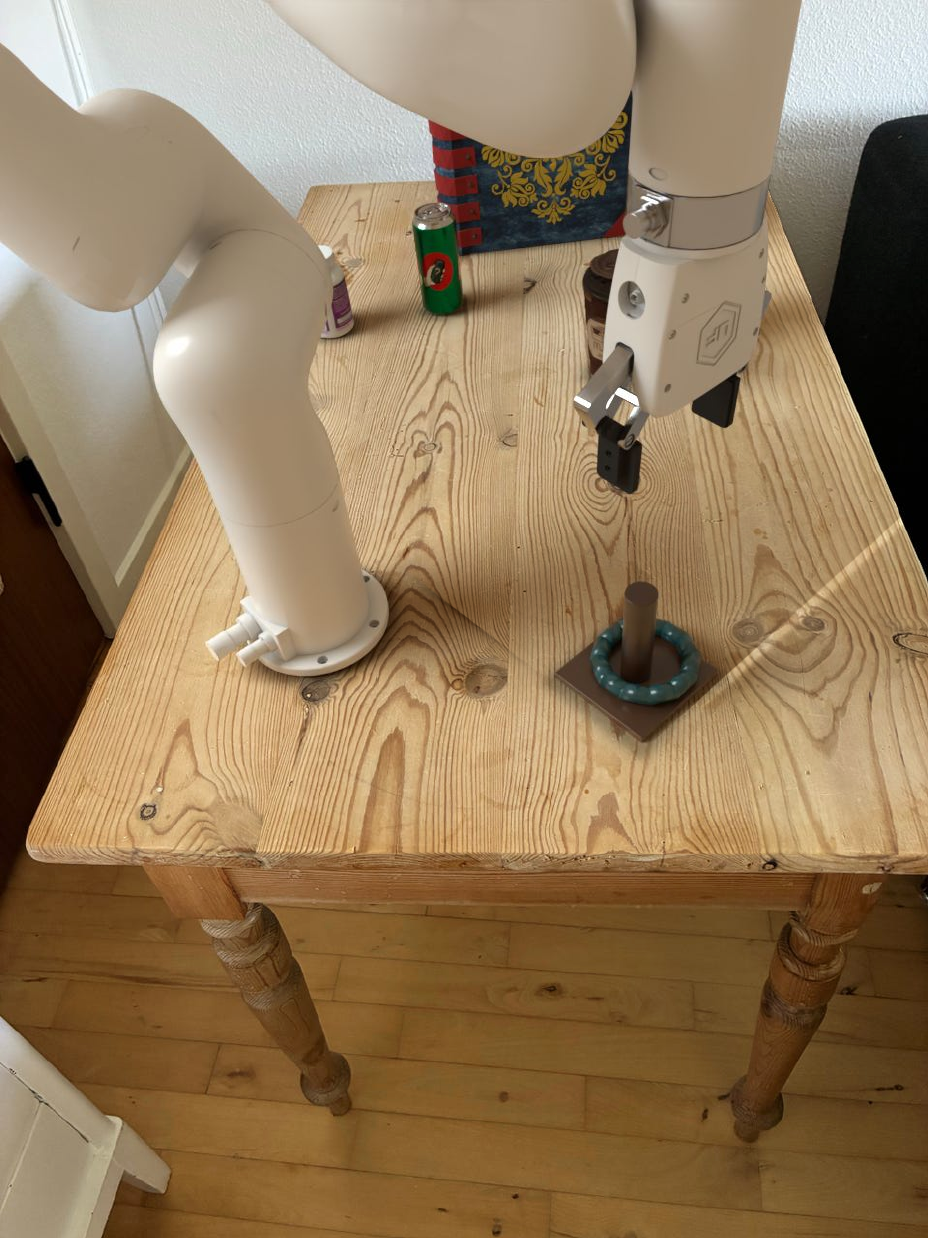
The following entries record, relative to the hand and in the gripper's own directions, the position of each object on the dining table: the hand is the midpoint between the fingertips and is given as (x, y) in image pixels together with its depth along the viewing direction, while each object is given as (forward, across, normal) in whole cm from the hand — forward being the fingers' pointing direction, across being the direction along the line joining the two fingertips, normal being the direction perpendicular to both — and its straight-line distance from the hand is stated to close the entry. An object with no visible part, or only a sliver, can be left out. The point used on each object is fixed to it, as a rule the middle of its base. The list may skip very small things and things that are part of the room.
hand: (665, 450), depth 64 cm
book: (+19, +42, +57) cm, 73 cm away
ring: (+17, -4, -3) cm, 18 cm away
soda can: (+20, +23, +52) cm, 60 cm away
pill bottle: (+20, +10, +59) cm, 63 cm away
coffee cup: (+19, +26, +26) cm, 42 cm away
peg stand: (+19, -5, -3) cm, 20 cm away
